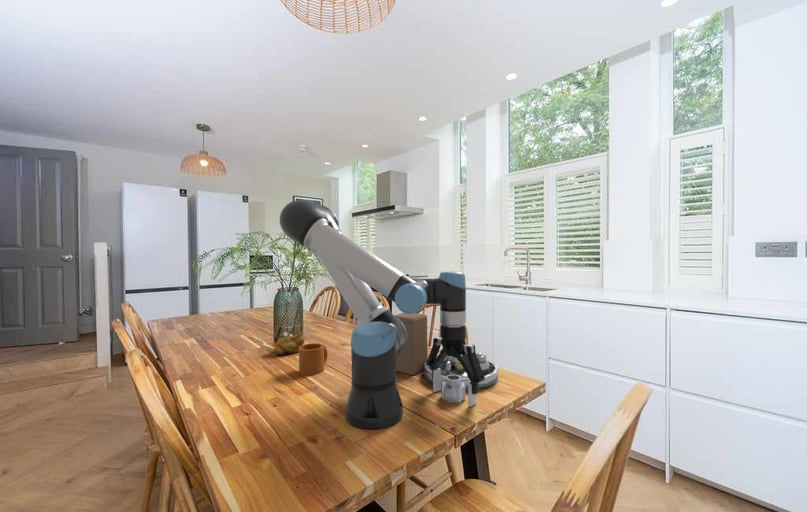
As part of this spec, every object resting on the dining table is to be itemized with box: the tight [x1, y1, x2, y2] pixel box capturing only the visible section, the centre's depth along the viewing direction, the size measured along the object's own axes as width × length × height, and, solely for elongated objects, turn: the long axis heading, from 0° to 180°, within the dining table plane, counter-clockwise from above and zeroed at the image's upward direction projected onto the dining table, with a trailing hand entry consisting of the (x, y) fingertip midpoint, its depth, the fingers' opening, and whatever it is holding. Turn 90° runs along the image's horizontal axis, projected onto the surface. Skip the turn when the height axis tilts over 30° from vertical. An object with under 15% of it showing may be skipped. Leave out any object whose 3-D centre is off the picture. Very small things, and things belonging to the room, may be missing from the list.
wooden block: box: [393, 312, 429, 376], centre depth 122 cm, size 10×10×20 cm
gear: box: [441, 375, 467, 404], centre depth 98 cm, size 7×7×6 cm
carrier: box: [423, 352, 499, 392], centre depth 116 cm, size 25×25×8 cm
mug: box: [298, 342, 329, 376], centre depth 123 cm, size 9×12×9 cm
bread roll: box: [272, 333, 305, 356], centre depth 144 cm, size 13×10×8 cm
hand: (453, 397), depth 98 cm, fingers open, 12 cm apart
